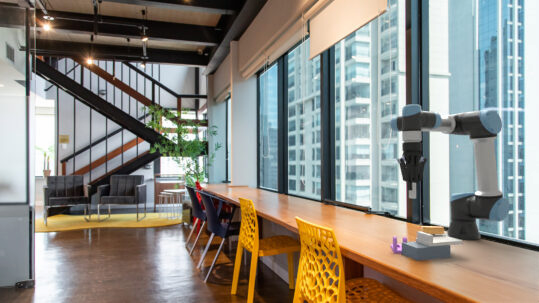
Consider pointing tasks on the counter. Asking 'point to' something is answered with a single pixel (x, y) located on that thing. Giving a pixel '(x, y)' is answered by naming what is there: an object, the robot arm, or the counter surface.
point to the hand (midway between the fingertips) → (412, 198)
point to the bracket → (397, 245)
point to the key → (433, 230)
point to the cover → (436, 240)
